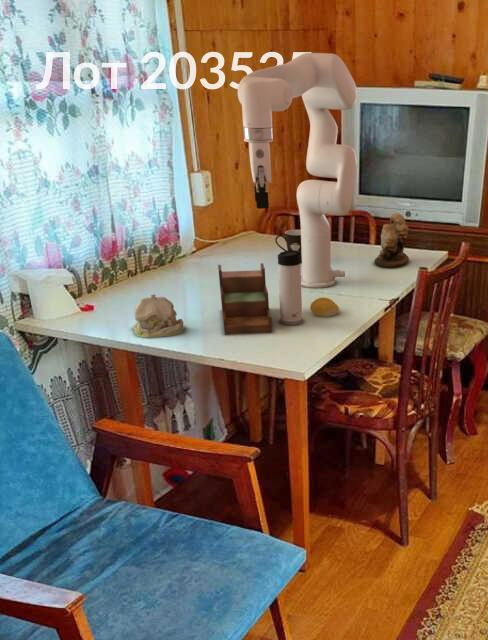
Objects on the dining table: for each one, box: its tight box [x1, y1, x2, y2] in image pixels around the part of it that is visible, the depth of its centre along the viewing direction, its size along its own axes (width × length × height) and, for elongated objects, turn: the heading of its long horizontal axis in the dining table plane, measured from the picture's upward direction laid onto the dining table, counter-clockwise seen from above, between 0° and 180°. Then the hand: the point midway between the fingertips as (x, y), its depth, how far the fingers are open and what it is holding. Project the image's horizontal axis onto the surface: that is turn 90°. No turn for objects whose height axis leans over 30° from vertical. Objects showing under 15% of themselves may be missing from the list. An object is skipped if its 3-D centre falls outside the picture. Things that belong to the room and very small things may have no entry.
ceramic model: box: [132, 294, 185, 339], centre depth 203 cm, size 14×11×10 cm
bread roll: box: [309, 297, 340, 318], centre depth 220 cm, size 8×9×4 cm
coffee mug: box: [274, 229, 302, 264], centre depth 267 cm, size 12×9×10 cm
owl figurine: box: [374, 212, 410, 269], centre depth 266 cm, size 18×12×17 cm, turn 163°
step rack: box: [217, 262, 273, 336], centre depth 210 cm, size 13×21×14 cm, turn 11°
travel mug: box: [277, 250, 303, 326], centre depth 208 cm, size 6×7×20 cm
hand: (261, 204), depth 202 cm, fingers open, 9 cm apart
